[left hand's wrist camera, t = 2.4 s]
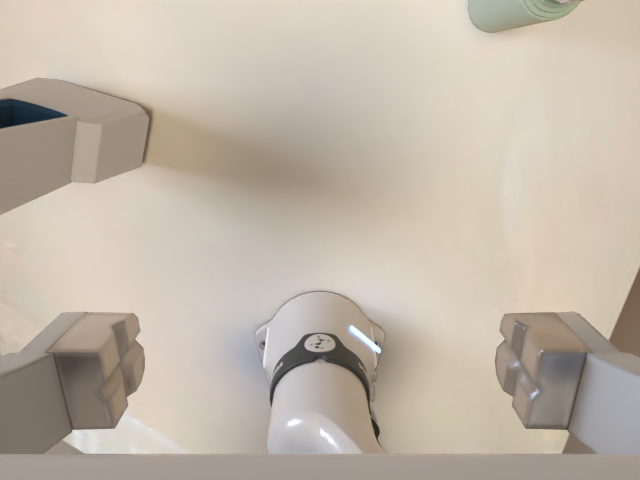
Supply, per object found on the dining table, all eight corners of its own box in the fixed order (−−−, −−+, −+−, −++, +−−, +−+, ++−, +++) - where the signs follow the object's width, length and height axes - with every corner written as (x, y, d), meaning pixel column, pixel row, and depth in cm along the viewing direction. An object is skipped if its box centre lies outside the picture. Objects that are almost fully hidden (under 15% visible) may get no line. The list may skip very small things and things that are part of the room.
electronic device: (44, 136, 55) (-237, 205, 27) (50, 75, 53) (-254, 81, 25) (144, 166, 57) (-27, 260, 29) (154, 107, 54) (-22, 148, 26)
